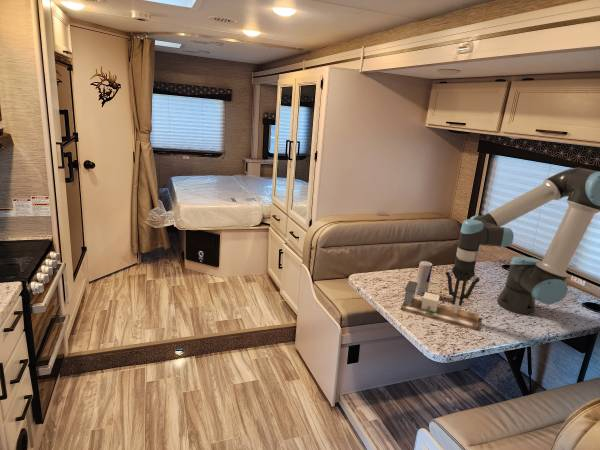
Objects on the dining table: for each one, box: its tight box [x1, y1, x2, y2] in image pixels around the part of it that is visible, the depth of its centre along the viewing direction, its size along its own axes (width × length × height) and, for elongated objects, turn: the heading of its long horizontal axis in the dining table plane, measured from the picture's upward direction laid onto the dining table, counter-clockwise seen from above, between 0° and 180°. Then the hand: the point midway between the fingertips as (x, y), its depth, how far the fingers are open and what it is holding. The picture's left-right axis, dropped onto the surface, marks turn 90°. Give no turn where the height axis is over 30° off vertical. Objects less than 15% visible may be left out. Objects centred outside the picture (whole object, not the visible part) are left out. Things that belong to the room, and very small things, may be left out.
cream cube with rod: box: [421, 292, 440, 312], centre depth 165 cm, size 6×10×5 cm, turn 155°
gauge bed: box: [400, 297, 480, 331], centre depth 165 cm, size 30×12×2 cm, turn 65°
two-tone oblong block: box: [402, 280, 418, 307], centre depth 169 cm, size 4×10×8 cm, turn 155°
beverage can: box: [415, 260, 433, 296], centre depth 181 cm, size 6×6×15 cm
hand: (455, 311), depth 162 cm, fingers closed
